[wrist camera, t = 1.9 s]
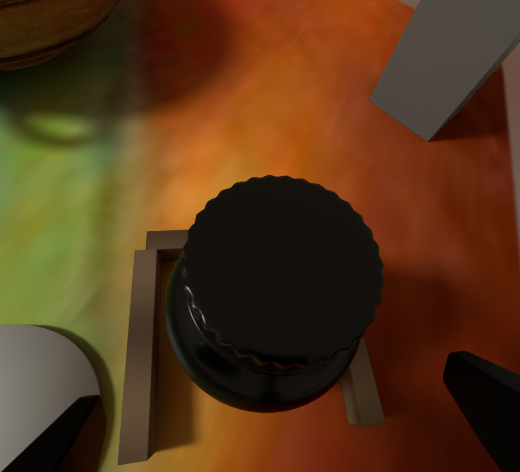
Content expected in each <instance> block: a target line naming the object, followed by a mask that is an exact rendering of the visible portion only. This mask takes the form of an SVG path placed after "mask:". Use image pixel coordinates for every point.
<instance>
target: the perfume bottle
mask: <svg viewBox="0 0 520 472" xmlns="http://www.w3.org/2000/svg"><path fill="white" fill-rule="evenodd" d="M519 42H520V0H420V2H419V4H418V6H417V8H416V10H415V12H414V13H413V15H412V17H411V19H410V21H409V23H408V25H407V27H406V29H405V31H404V33H403V35H402V37H401V38H400V40H399V42H398V44H397V46H396V48H395V50H394V52H393V54H392V56H391V58H390V60H389V62H388V63H387V65H386V67H385V69H384V71H383V73H382V75H381V77H380V79H379V81H378V83H377V85H376V87H375V88H374V90H373V92H372V94H371V96H370V98H369V101H371V102H372V103H373V104H375V105H376V106H378V107H379V108H380V109H382V110H383V111H385V112H386V113H387V114H389V115H390V116H392V117H393V118H395V119H396V120H397V121H399V122H400V123H402V124H403V125H404V126H406V127H407V128H409V129H410V130H411V131H413V132H414V133H416V134H417V135H418V136H420V137H421V138H423V139H424V140H425V141H427V142H428V141H429V140H430V139H431V138H432V137H433V136H434V135H435V134H436V133H437V132H438V131H439V130H440V129H441V128H442V127H444V126H445V125H446V124H447V123H448V122H449V121H450V120H451V119H452V118H453V117H454V116H455V115H456V114H457V113H458V112H459V111H460V110H461V109H462V108H463V107H464V106H465V104H466V103H467V102H468V101H469V100H470V99H471V98H472V96H473V95H474V94H475V93H476V92H477V91H478V89H479V88H480V87H481V86H482V85H483V84H484V83H485V81H486V80H487V79H488V78H489V77H490V76H491V75H492V73H493V72H494V71H495V70H496V69H497V68H498V67H499V65H500V64H501V63H502V62H503V61H504V60H505V58H506V57H507V56H508V55H509V54H510V53H511V51H512V50H513V49H514V48H515V47H516V46H517V45H518V43H519Z"/></svg>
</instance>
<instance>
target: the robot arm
mask: <svg viewBox="0 0 520 472" xmlns="http://www.w3.org/2000/svg"><path fill="white" fill-rule="evenodd" d="M443 380H444V383H445V385H446V387H447V389H448V390H449V392H450V394H451V395H452V397H453V398H454V400H455V402H456V403H457V405H458V406H459V408H460V410H461V411H462V413H463V415H464V416H465V418H466V419H467V421H468V423H469V424H470V426H471V427H472V429H473V431H474V432H475V434H476V435H477V437H478V439H479V440H480V442H481V443H482V445H483V446H484V447H485V449H486V450H487V452H488V453H489V454H490V456H491V457H492V459H493V460H494V461H495V463H496V464H497V465H498V467H499V468H500V470H501V471H502V472H520V375H518V374H516V373H514V372H512V371H509V370H507V369H505V368H503V367H501V366H498V365H496V364H494V363H492V362H489V361H487V360H485V359H483V358H481V357H478V356H476V355H474V354H472V353H469V352H467V351H457V352H451V353H450V354H449V355H448V358H447V361H446V365H445V369H444V373H443ZM106 425H107V423H106V416H105V412H104V407H103V402H102V398H101V396H100V395H97V394H96V395H87V396H82V397H79V398H78V399H77V400H76V401H75V402H74V403H72V404H71V405H70V406H69V407H68V408H67V409H66V410H65V411H64V412H63V413H62V414H61V415H60V416H59V417H58V418H57V419H56V420H55V421H54V422H53V423H51V424H50V425H49V426H48V427H47V428H46V429H45V430H44V431H43V432H42V433H41V434H40V435H39V436H38V437H37V438H36V439H35V440H34V441H33V442H32V443H30V444H29V445H28V446H27V447H26V448H25V449H24V450H23V451H22V452H21V453H20V454H19V455H18V456H17V457H16V458H15V459H14V460H13V461H12V462H11V463H9V464H8V465H7V466H6V467H5V468H4V469H3V470H2V471H1V472H97V470H98V465H99V461H100V456H101V451H102V447H103V442H104V438H105V433H106Z"/></svg>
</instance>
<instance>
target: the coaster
mask: <svg viewBox="0 0 520 472" xmlns="http://www.w3.org/2000/svg"><path fill="white" fill-rule="evenodd" d="M96 394H97V395H100V396H101V398H102V394H101V387H100V383H99V380H98V376H97V373H96V371H95V369H94V367H93V364H92V363H91V361H90V360H89V358H88V357H87V355H86V354H85V353H84V352H83V350H82V349H81V348H80V347H79V346H78V345H77V344H75V343H74V342H73V341H71V340H70V339H69V338H67V337H65V336H63V335H61V334H59V333H57V332H54V331H51V330H48V329H45V328H42V327H37V326H32V325H4V326H0V472H1V471H2V470H3V469H4V468H5V467H6V466H7V465H8V464H9V463H11V462H12V461H13V460H14V459H15V458H16V457H17V456H18V455H19V454H20V453H21V452H22V451H23V450H24V449H25V448H26V447H27V446H28V445H29V444H30V443H32V442H33V441H34V440H35V439H36V438H37V437H38V436H39V435H40V434H41V433H42V432H43V431H44V430H45V429H46V428H47V427H48V426H49V425H50V424H51V423H53V422H54V421H55V420H56V419H57V418H58V417H59V416H60V415H61V414H62V413H63V412H64V411H65V410H66V409H67V408H68V407H69V406H70V405H71V404H72V403H74V402H75V401H76V400H77V399H78V398H79V397H82V396H87V395H96Z"/></svg>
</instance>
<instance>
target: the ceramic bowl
mask: <svg viewBox="0 0 520 472" xmlns="http://www.w3.org/2000/svg"><path fill="white" fill-rule="evenodd" d="M118 2H119V0H0V70H14V69H22V68H26V67H31V66H35V65H38V64H41V63H44V62H47V61H49V60H51V59H53V58H55V57H57V56H58V55H60V54H61V53H63V52H64V51H66V50H67V49H68V48H69V47H70V46H71V45H72V44H75V43H76V42H78V41H80V40H81V39H83V38H84V37H86V36H87V35H89V34H91V33H92V32H93V31H95V30H96V29H97V28H98V27H99V26H100V25H101V24H102V23H103V22H105V21H106V20H107V18H108V17H109V15H110V14H111V13H112V11H113V10H114V8H115V7H116V5H117V3H118Z"/></svg>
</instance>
